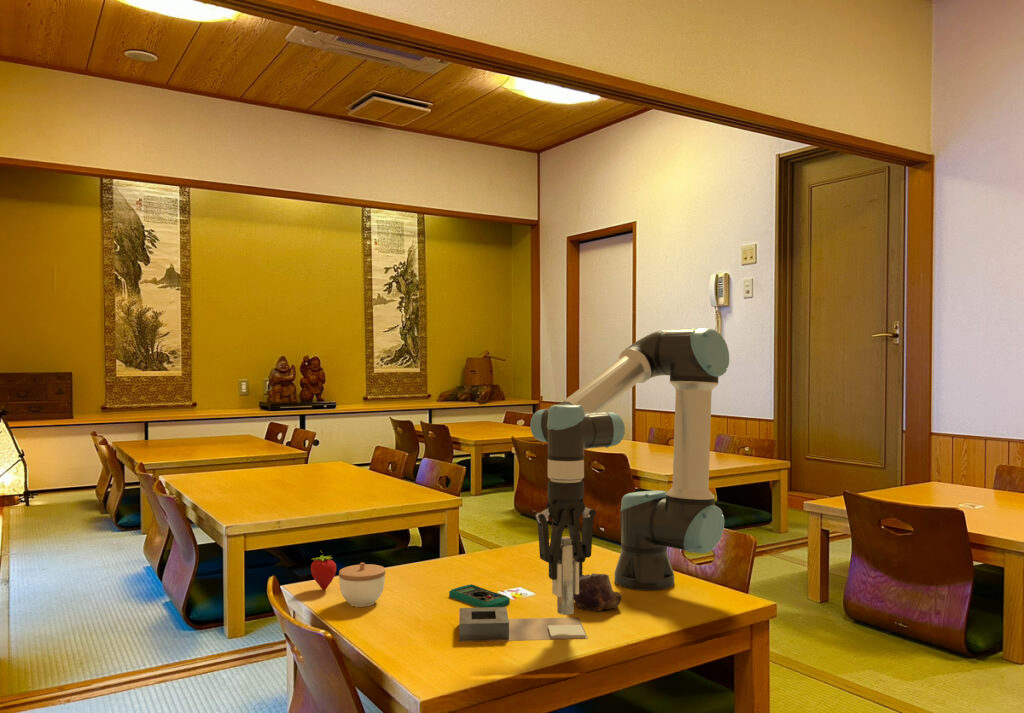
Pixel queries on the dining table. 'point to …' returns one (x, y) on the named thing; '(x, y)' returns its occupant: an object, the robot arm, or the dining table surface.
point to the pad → (566, 631)
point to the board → (536, 628)
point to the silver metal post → (566, 577)
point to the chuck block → (483, 624)
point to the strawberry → (323, 571)
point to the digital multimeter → (479, 596)
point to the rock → (596, 593)
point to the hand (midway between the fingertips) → (565, 593)
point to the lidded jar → (362, 584)
